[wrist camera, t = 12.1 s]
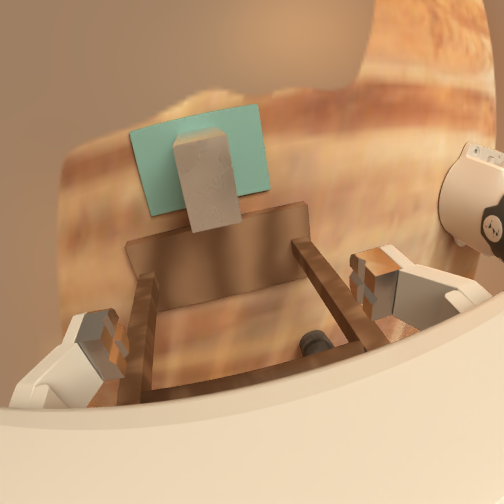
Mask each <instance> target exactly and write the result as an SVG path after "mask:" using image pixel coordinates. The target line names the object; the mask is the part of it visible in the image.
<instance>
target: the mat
mask: <svg viewBox="0 0 504 504" xmlns="http://www.w3.org/2000/svg"><path fill="white" fill-rule="evenodd" d="M211 126H217V127H218V128H219V129H220V130H222V131H223V132H224V133H226V134H227V138H228V144H229V149H230V155H231V161H232V166H233V172H234V178H235V184H236V189H237V195H238V196H241V195H246V194H251V193H256V192H260V191H265V190H270V189H271V188H270V181H269V174H268V168H267V161H266V154H265V147H264V141H263V134H262V128H261V122H260V115H259V109H258V104H253V105H246V106H240V107H234V108H228V109H223V110H217V111H212V112H207V113H202V114H198V115H193V116H189V117H184V118H180V119H176V120H172V121H168V122H164V123H160V124H156V125H152V126H148V127H145V128H141V129H138V130H134V131H131V132H129V133H130V137H131V141H132V146H133V150H134V154H135V158H136V162H137V166H138V170H139V173H140V177H141V181H142V185H143V188H144V192H145V196H146V199H147V203H148V206H149V210H150V213H151V216H155V215H159V214H163V213H167V212H171V211H175V210H180V209H184V208H186V204H185V200H184V196H183V192H182V187H181V183H180V179H179V174H178V170H177V165H176V161H175V156H174V152H173V147H172V146H173V144H174V142H175V139H176V137H177V135H178V133H182V132H187V131H191V130H196V129H201V128H206V127H211Z"/></svg>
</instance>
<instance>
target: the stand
mask: <svg viewBox="0 0 504 504" xmlns="http://www.w3.org/2000/svg"><path fill="white" fill-rule="evenodd" d="M241 218H242V222H241V223H236V224H231V225H227V226H222V227H218V228H213V229H209V230H204V231H200V232H196V233H192V229H191V226H188V227H184V228H180V229H176V230H171V231H167V232H163V233H159V234H155V235H151V236H147V237H143V238H139V239H135V240H131V241H128V242H127V243H126V246H125V248H126V251H127V254H128V257H129V259H130V262H131V265H132V267H133V270H134V272H135V275H136V277H137V280H138V284H137V288H136V293H135V297H134V302H133V307H132V312H131V317H130V322H129V327H128V332H127V336H128V339H129V347H130V348H129V354H128V355H127V356H126V357H125V358H124V359H125V360H126V362H127V367H126V373H125V378H120V382H119V389H118V397H117V405H116V406H124V405H134V404H144V403H153V402H161V401H168V400H175V399H182V398H188V397H195V396H200V395H206V394H212V393H217V392H222V391H227V390H232V389H237V388H242V387H246V386H251V385H255V384H259V383H264V382H268V381H272V380H276V379H280V378H283V377H287V376H291V375H295V374H298V373H302V372H306V371H309V370H313V369H316V368H319V367H323V366H326V365H329V364H332V363H336V362H339V361H342V360H345V359H348V358H351V357H354V356H357V355H360V354H363V353H366V352H369V351H371V350H374V349H377V348H380V347H382V346H385V345H388V344H390V342H389V340H388V339H387V338H386V336H385V335H384V334H383V332H382V331H381V330H380V328H379V327H378V326H377V324H376V323H375V322H374V321H370V319H369V318H368V316H367V315H366V314H365V312H364V311H363V310H362V308H363V306H362V305H361V303H359V302H357V301H356V300H355V299H354V297H353V295H352V293H351V291H350V289H349V288H348V287H347V286H346V284H345V283H344V282H343V280H342V279H341V278H340V277H339V275H338V274H337V273H336V272H335V270H334V269H333V268H332V267H331V265H330V264H329V263H328V262H327V261H326V259H325V258H324V257H323V256H322V254H321V253H320V252H319V251H318V249H317V248H316V247H315V246H314V245H313V243H312V242H311V239H310V226H309V214H308V205H307V204H306V203H305V202H304V201H303V202H298V203H293V204H288V205H283V206H278V207H273V208H268V209H264V210H259V211H254V212H250V213H245V214H241ZM305 277H308V278H309V280H310V281H311V283H312V284H313V286H314V287H315V289H316V291H317V292H318V294H319V295H320V297H321V298H322V300H323V301H324V303H325V305H326V306H327V308H328V309H329V311H330V313H331V314H332V316H333V317H334V319H335V320H336V322H337V324H338V325H339V327H340V328H341V330H342V332H343V333H344V335H345V336H346V338H347V340H348V341H349V343H347V344H344V345H341V346H338V347H335V348H332V349H329V350H325V351H322V352H319V353H316V354H312V355H309V356H306V357H302V358H299V359H295V360H292V361H288V362H285V363H281V364H277V365H273V366H269V367H266V368H262V369H258V370H254V371H249V372H245V373H241V374H237V375H232V376H228V377H223V378H218V379H213V380H209V381H203V382H198V383H193V384H187V385H182V386H176V387H170V388H164V389H157V390H151V385H152V365H153V350H154V336H155V325H156V314H157V312H160V311H165V310H170V309H174V308H179V307H183V306H188V305H192V304H197V303H201V302H206V301H210V300H215V299H219V298H223V297H228V296H232V295H236V294H240V293H245V292H249V291H253V290H257V289H261V288H265V287H269V286H273V285H277V284H281V283H285V282H289V281H293V280H297V279H301V278H305Z"/></svg>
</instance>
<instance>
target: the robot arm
mask: <svg viewBox="0 0 504 504" xmlns="http://www.w3.org/2000/svg"><path fill="white" fill-rule="evenodd" d="M439 215H440V220H441V223H442V225H443V227H444V229H445V230H446V231H447V232H448V233H450V234H451V235H452V236H453V238H454V241H455V243H456V245H458V246H460V247H463V246H465V245H468V246H470V247H471V248H473V249H475V250H477V251H478V252H480V253H482V254H484V255H486V256H488V257H491V256H493V255H495V256H496V257H497V258H499V259H500V260H501V261H502V262H504V153H503V152H500V151H497V150H494V149H491V148H488V147H485V146H482V145H479V144H476V143H473V142H467V143H466V145H465V147H464V149H463V151H462V154H461V156H460V158H459V159H458V160H457V161H456V162H455V164H454V165H453V166H452V167H451V169H450V170H449V172H448V174H447V176H446V178H445V180H444V183H443V186H442V189H441V193H440V200H439ZM350 267H351V268H352V269H353V272H352V273H351V275H350V276H349V278H350V289H351V293H352V295H353V297H354V299H355V300H356V301H357V302H359V303H361V304H363V308H362V310H363V311H364V312H365V314H366V315H367V316H368V318H369V319H370V321H374V320H377V319H381V318H384V317H387V316H390V315H393V316H394V317H396V318H398V319H400V320H402V321H403V322H405V323H407V324H409V325H411V326H413V327H415V328H417V329H419V330H421V331H420V332H417V333H415V334H413V335H410V336H408V337H405V338H403V339H400V340H398V341H395V342H393V343H390V344H388V345H385V346H382V347H380V348H377V349H374V350H371V351H369V352H366V353H363V354H360V355H357V356H354V357H351V358H348V359H345V360H342V361H339V362H336V363H332V364H329V365H326V366H323V367H319V368H316V369H313V370H309V371H306V372H302V373H298V374H295V375H291V376H287V377H283V378H280V379H276V380H272V381H268V382H264V383H259V384H255V385H251V386H246V387H242V388H237V389H232V390H227V391H222V392H217V393H212V394H206V395H200V396H195V397H188V398H182V399H175V400H168V401H161V402H153V403H144V404H134V405H124V406H111V407H96V408H86V407H87V405H88V404H89V402H90V401H91V399H92V398H93V397H94V395H95V394H96V392H97V391H98V389H99V388H100V386H101V385H102V384H103V381H105V380H113V379H120V378H125V373H126V367H127V362H126V360H125V359H124V358H125V357H126V356H127V355H128V354H129V348H130V347H129V339H128V336H127V333H126V331H125V329H124V327H122V326H121V325H119V324H118V319H119V317H118V315H117V313H116V312H115V310H114V309H112V308H109V309H103V310H98V311H92V312H87V313H86V312H85V313H80V314H76V315H74V316H73V318H72V320H71V323H70V325H69V327H68V330H67V332H66V334H65V337H64V339H63V342H62V344H61V345H58V346H57V347H56V348H55V349H54V350H53V351H51V352H50V353H49V354H48V355H47V356H46V357H45V358H44V359H43V360H42V361H41V362H40V363H39V364H38V365H37V366H35V368H34V369H32V370H31V371H30V372H29V373H28V374H27V375H26V376H25V377H24V378H23V379H22V380H21V381H20V382H19V383H18V384H17V385H16V388H15V390H14V393H13V396H12V399H11V401H10V404H9V407H0V504H504V291H502V292H500V293H498V294H497V295H495V296H492V295H491V294H489V293H488V292H487V291H486V290H485V289H484V288H483V287H482V286H481V285H479V284H478V283H477V282H476V281H475V280H472V279H468V278H465V277H462V276H458V275H455V274H451V273H448V272H445V271H441V270H438V269H434V268H431V267H427V266H424V265H420V264H416V265H414V264H413V263H412V262H411V261H410V260H409V259H407V258H406V257H405V256H404V255H403V254H402V253H401V252H399V251H398V250H397V249H396V248H395V247H394V246H392V245H390V244H386V245H383V246H380V247H376V248H373V249H370V250H366V251H363V252H359V253H355V254H352V255H351V257H350Z"/></svg>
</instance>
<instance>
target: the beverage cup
mask: <svg viewBox="0 0 504 504" xmlns="http://www.w3.org/2000/svg"><path fill="white" fill-rule="evenodd" d="M300 347H301V350H302V355H303V357H306V356H309V355H312V354H316V353H319V352H322V351H325V350H329V349H332V348H335V347H334V345H333V344H332V342H331V341H330V340H329V338H327V336H326V335H325V334H324V332H322V331H319V330H314V331H311V332H309V333H307V334H306V335H304V336H303V337H302V339H301V341H300Z"/></svg>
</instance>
